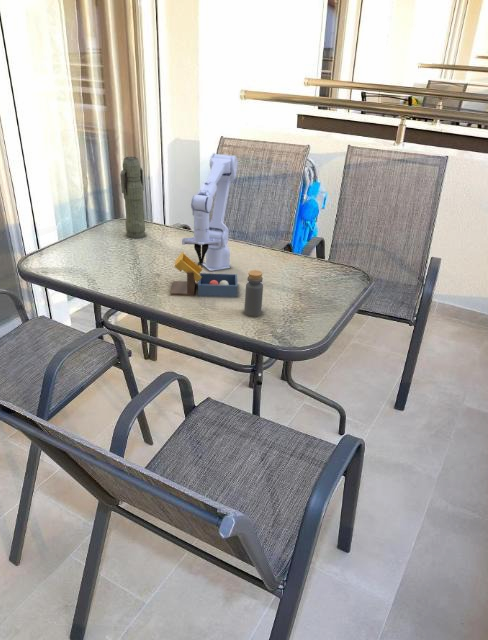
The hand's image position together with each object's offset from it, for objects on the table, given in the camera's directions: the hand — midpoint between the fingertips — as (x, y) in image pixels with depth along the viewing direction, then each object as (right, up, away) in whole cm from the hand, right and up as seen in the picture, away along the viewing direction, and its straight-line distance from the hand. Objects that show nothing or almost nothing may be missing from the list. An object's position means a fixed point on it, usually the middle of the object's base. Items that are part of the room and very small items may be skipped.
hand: (201, 262), depth 195 cm
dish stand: (-6, -11, -5) cm, 13 cm away
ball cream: (+9, -9, -5) cm, 14 cm away
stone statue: (-34, +22, +46) cm, 61 cm away
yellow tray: (-5, -3, -5) cm, 8 cm away
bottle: (+19, -21, -19) cm, 34 cm away
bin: (+6, -11, -4) cm, 14 cm away
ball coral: (+5, -9, -5) cm, 12 cm away
